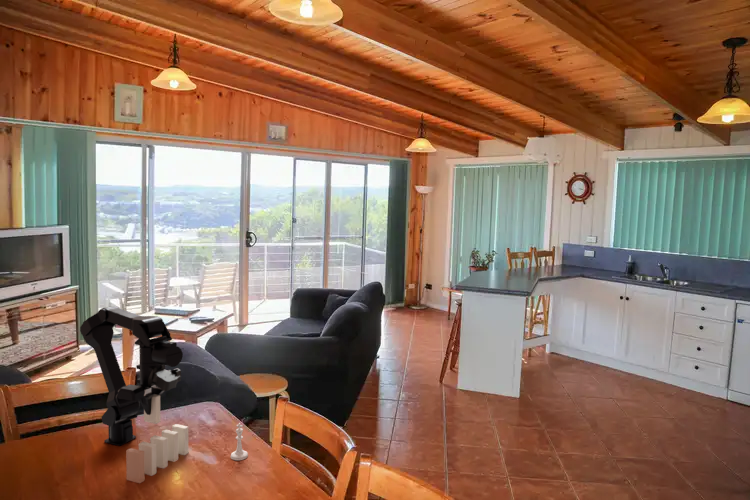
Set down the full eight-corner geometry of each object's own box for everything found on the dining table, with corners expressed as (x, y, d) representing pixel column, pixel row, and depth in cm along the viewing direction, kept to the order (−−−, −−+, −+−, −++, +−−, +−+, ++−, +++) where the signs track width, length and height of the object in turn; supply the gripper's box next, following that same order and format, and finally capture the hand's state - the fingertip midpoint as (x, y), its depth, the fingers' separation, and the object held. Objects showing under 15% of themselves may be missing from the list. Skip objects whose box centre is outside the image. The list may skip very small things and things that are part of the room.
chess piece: (243, 461, 149) (243, 427, 148) (227, 459, 150) (227, 425, 149) (250, 453, 154) (251, 420, 153) (235, 451, 155) (235, 418, 154)
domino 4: (139, 472, 142) (138, 443, 141) (143, 469, 143) (143, 441, 143) (152, 475, 140) (151, 446, 139) (156, 472, 142) (156, 444, 141)
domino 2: (144, 421, 153) (143, 394, 152) (148, 419, 154) (147, 392, 153) (156, 424, 151) (155, 397, 150) (160, 421, 152) (160, 395, 152)
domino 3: (150, 465, 146) (150, 437, 145) (155, 462, 147) (154, 435, 146) (163, 468, 144) (163, 440, 143) (167, 465, 146) (167, 438, 145)
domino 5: (161, 458, 150) (161, 431, 149) (165, 456, 151) (165, 429, 150) (174, 461, 148) (174, 434, 147) (178, 459, 149) (178, 432, 149)
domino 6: (172, 452, 153) (172, 425, 153) (176, 450, 155) (175, 423, 154) (184, 455, 152) (184, 428, 151) (188, 452, 153) (188, 426, 153)
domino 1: (126, 479, 138) (126, 450, 137) (131, 476, 139) (131, 447, 139) (139, 483, 136) (139, 453, 136) (144, 480, 138) (144, 451, 137)
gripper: (147, 374, 140) (148, 430, 141) (194, 355, 157) (195, 406, 158) (115, 368, 144) (117, 423, 145) (165, 351, 161) (166, 400, 162)
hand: (151, 413), depth 152 cm, fingers closed on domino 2, 2 cm apart
